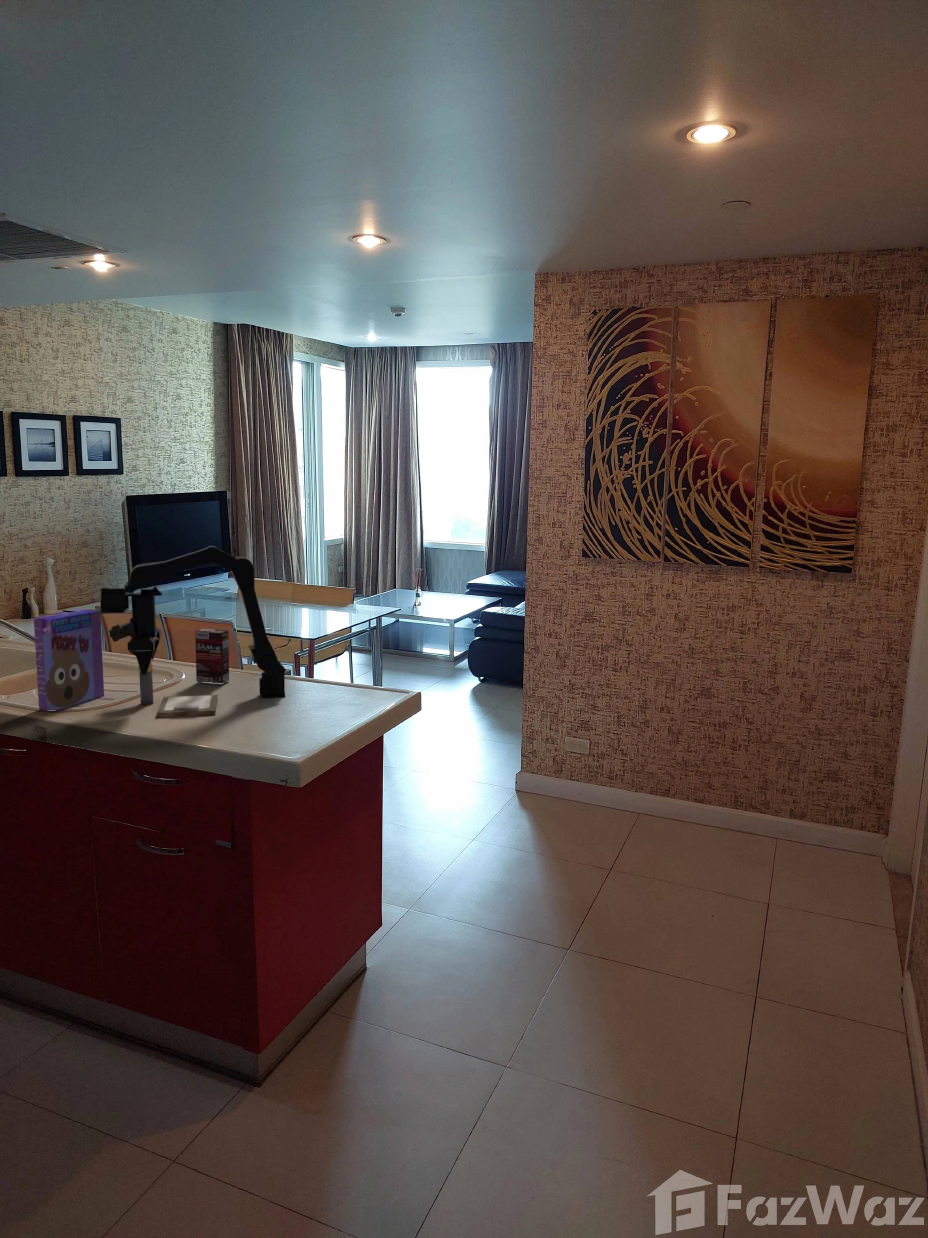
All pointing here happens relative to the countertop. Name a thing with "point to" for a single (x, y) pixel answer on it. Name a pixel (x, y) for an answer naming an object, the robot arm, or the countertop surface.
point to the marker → (146, 686)
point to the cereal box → (68, 659)
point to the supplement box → (212, 655)
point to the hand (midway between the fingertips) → (146, 670)
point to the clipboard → (187, 706)
